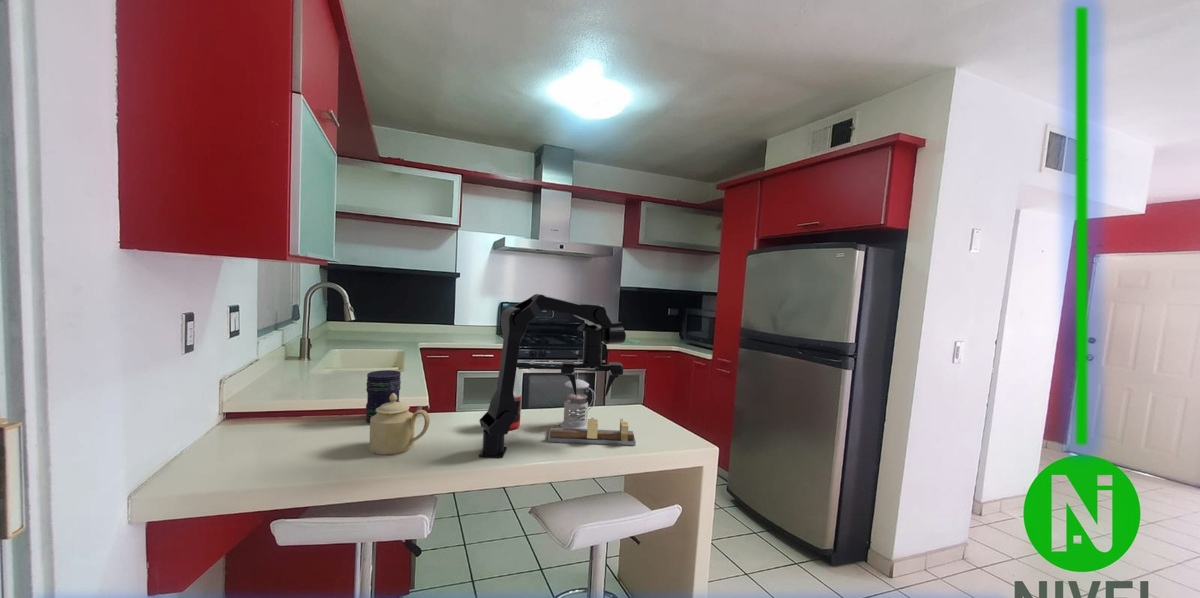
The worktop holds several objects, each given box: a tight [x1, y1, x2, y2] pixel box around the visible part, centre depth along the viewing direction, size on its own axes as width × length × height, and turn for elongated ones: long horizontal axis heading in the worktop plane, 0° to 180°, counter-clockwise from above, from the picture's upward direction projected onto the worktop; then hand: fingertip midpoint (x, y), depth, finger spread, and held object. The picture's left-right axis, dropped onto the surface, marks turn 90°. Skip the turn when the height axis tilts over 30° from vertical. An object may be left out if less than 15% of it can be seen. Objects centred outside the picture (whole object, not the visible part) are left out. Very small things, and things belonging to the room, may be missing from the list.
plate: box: [547, 427, 637, 446], centre depth 135 cm, size 9×26×1 cm, turn 92°
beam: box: [549, 418, 635, 441], centre depth 134 cm, size 7×25×5 cm, turn 92°
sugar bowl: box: [369, 393, 431, 456], centre depth 121 cm, size 15×11×15 cm
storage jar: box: [365, 369, 402, 425], centre depth 142 cm, size 10×10×15 cm
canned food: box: [508, 390, 522, 432], centre depth 141 cm, size 8×8×11 cm
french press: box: [560, 350, 596, 429], centre depth 146 cm, size 10×12×25 cm
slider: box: [587, 416, 599, 439], centre depth 134 cm, size 7×3×5 cm, turn 2°
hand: (590, 395), depth 136 cm, fingers open, 9 cm apart
